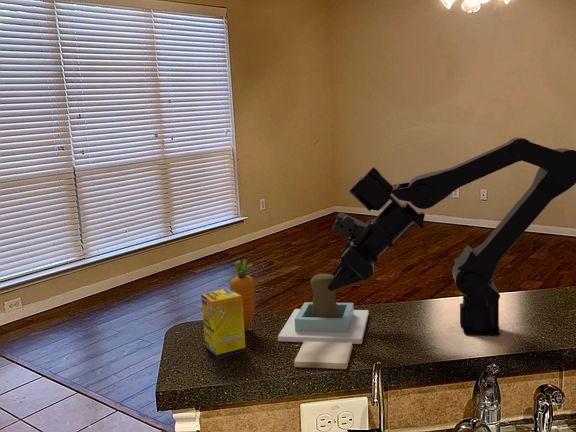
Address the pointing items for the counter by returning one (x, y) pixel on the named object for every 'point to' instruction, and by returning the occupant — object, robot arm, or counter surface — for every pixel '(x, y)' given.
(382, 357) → the counter surface
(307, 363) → the pad
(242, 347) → the supplement box
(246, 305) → the carrot
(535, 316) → the counter surface
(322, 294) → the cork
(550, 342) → the counter surface
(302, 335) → the housing
